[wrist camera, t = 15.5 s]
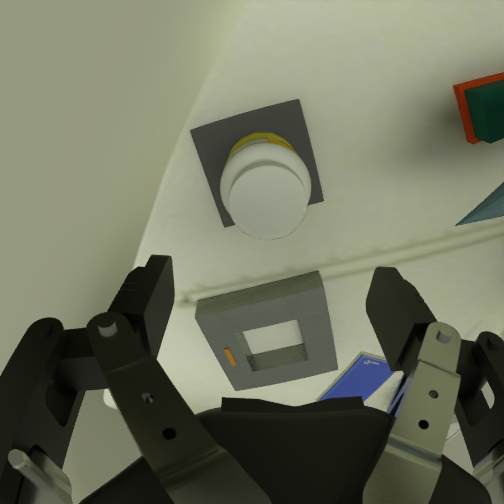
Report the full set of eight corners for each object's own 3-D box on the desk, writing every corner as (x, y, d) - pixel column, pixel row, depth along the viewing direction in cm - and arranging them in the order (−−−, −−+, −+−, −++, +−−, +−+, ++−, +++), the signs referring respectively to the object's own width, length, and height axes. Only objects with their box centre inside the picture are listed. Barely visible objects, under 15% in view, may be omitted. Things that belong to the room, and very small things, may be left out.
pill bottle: (305, 181, 29) (333, 232, 19) (244, 204, 30) (240, 265, 20) (281, 119, 26) (300, 137, 16) (217, 145, 27) (197, 178, 17)
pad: (298, 99, 26) (299, 99, 25) (322, 198, 30) (324, 201, 30) (191, 129, 27) (190, 130, 26) (224, 225, 31) (224, 227, 31)
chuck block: (318, 270, 34) (323, 287, 31) (333, 353, 41) (338, 370, 38) (198, 300, 36) (194, 318, 33) (236, 374, 42) (235, 392, 40)
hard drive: (363, 356, 40) (316, 404, 45) (402, 365, 42) (355, 410, 47) (360, 348, 41) (315, 397, 47) (399, 358, 43) (353, 403, 48)
